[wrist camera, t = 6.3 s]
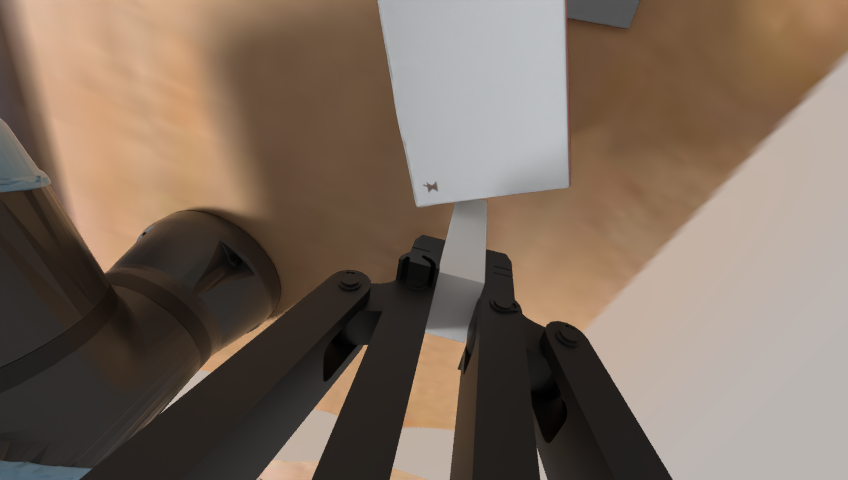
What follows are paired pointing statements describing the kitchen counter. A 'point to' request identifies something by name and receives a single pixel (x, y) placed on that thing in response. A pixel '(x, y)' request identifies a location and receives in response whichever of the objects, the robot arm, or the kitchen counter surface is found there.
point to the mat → (603, 11)
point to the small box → (480, 95)
